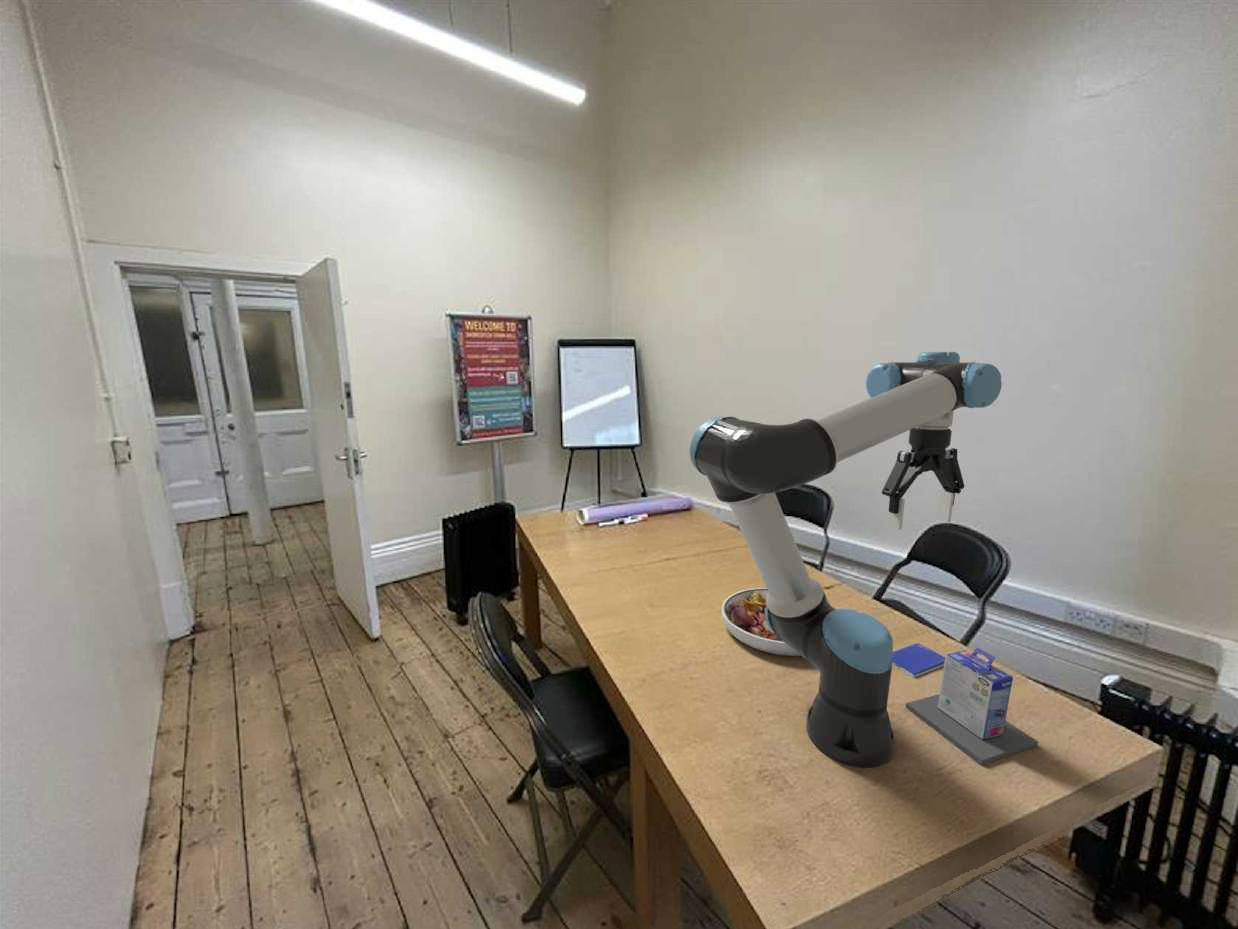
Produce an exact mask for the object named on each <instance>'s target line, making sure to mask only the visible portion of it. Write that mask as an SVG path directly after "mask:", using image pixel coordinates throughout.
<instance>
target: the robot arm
mask: <svg viewBox="0 0 1238 929" xmlns="http://www.w3.org/2000/svg"><path fill="white" fill-rule="evenodd" d="M1002 385H1003V383H1002V375H1001V372H1000V370H999V369H998V367H996V366H995V365H993V364H992V363H991V364H990V363H986V362H985V363H984V362H975V361H970V362H961V356H960V354H959V353H958V352H956V351H929V352H928V351H927V352H924V351H923V352H920V353H919V354H918V356H917V359H916V361H913V362H909V361H908V362H897V361H895V362H894V361H888V362H884V363H883V362H882V363H877V364H875V365H873V367H871V369H870V370H869V372H868V373H867V376H866V380H865V388H866V392H867V394H868V395H869V397H870V398H868V399H865V400H863V401H860V402H858V403H856V404H854V405H851V406H849V407H846V408H844V409H841V410H839V411H836V412H834V413H832V414H829V415H827V416H824V417H822V418H820V419H813V418H811V417H810V418H809V417H808V418H804V419H801V420H798V421H797V422H793V423H792V422H791V423H788V424H764V423H760V422H754V421H750V420H749V421H748V420H743V419H739V418H738V417H734V416H715V417H712V418H710V419H708V420H706V421H704V422H703V423H702V424H701V425H700V426H699V427H698V428H697V429H696V431H695V432H694V434H693V436H692V438H691V442H690V445H689V458H690V461H691V463H692V466H693V467H694V468H695V469H696V470H697V471H698V472H699V473H700V474H701V475H703V476H705V477H707V479H708V481H709V483H710V486H711V487H712V489H713V492H714V494H715V496H716V498H717V499H718V501H719V502H721V503H724V504H727V505H729V507H730V510H731V511H732V513H733V516H734V519H735V520H736V523H737V525H738V527H739V529H740V532H741V533H742V536H743V538H744V541H745V542H746V544H747V547H748V549H749V551H750V554H751V556H752V558H753V560H754V563H755V564H756V567H757V569H758V571H759V574H760V576H761V578H762V580H763V583H764V584H765V588H767V589H768V591H769V592H768V594H767V597H766V604H767V607H766V608H765V619H766V622H767V624H768V626H769V628H770V629H771V630H772V631H773V633H774V634H775V635H776V636H777V637H778V638H779V639H780V640H782V641H783V642H785V643H787V644H788V645H789V646H790V647H791V648H793V649H794V650H795V651H796V652H798V653H799V654H800V655H801V656H800V657H802V658H804V659H805V660H806V661H808V663H810V664H811V665H813V666H814V667H815V668H816V669H817V670H818V671H819V680H818V681H819V683H818V692H817V693H816V696H815V698H814V700H813V702H812V704H811V706H810V708H809V710H808V712H807V716H806V728H805V729H806V733H807V735H808V738H809V739H810V740H811V742H812V744H813V745H815V747H816V748H818V750H819V751H821V752H822V753H823V754H825V755H827V756H828V757H830V758H832V759H834V760H836V761H838V762H841V763H843V764H846V765H850V766H854V767H859V768H860V767H862V768H874V767H879V766H881V765H884V764H885V763H887V762H888V761H889V760H890V759H891V758H892V757H893V754H894V749H895V733H894V731H893V728H892V723H891V720H890V717H889V716H890V715H889V712H888V703H889V702H888V701H889V694H890V685H891V678H892V671H893V670H892V669H893V665H892V664H893V656H894V654H893V652H894V642H893V637H892V634H891V632H890V631H889V630H888V627H886V626H885V625H884V624H883V623H882V622H881V621H879V620H878V619H877V618H875V617H873V616H871V615H870V614H867V613H864V612H858V611H857V610H855V609H849V608H837V609H836V608H835V607H833V606H832V605H831V604H830V602H829V600H828V598H827V596H826V593H825V590H824V588H823V587H822V586H823V585H821V583H820V582H819V581H818V580H816V579H815V578H813V577H811V576H810V575H809V573H808V570H807V567H806V566H805V563H804V560H803V558H802V556H801V553H800V551H799V548H798V546H797V544H796V541H795V539H794V536H793V534H792V531H791V529H790V527H789V524H788V522H787V519H786V517H785V514H784V512H783V510H782V507H781V505H780V502H779V499H778V497H777V494H776V493H779V492H783V491H786V490H790V489H794V488H797V487H800V486H802V485H806V484H808V483H811V482H813V481H815V480H817V479H820V478H823V477H824V476H826V475H829V474H830V473H832V472H834V470H836V467H837V465H838V463H839V462H842V461H844V460H847V459H848V458H850V457H853V456H855V455H857V454H860V453H861V452H864V451H865V450H869V449H870V448H873V447H875V446H877V445H879V444H881V443H883V442H886V441H888V440H890V439H894V438H895V437H897V436H899V435H901V434H903V433H905V432H908V431H909V434H908V435H909V436H908V444H909V445H910V446H911V449H910V451H909V452H908V451H903V450H899V451H898V453H897V457H896V461H895V464H894V466H893V467H892V470H891V472H890V474H889V476H888V478H887V480H886V482H885V484H884V485H883V488H882V490H881V494H882V495H883V496H886V497H889V503H888V512H889V519H888V527H892V528H894V529H897V530H902V529H903V521H904V520H903V519H904V509H905V500H906V499H904V498H903V497H904V495H905V494H906V493H907V491H908V490H909V488H910V487H911V486H912V485H913V483H914V482H915V480H916V479H917V478H918V476H919V475H922V474H923V473H925V472H926V473H927V472H930V471H932V472H933V473H934V475H935V477H936V478H937V480H938V482H939V483H940V485H941V487H942V489H943V490H940V492H939V498H938V499H939V500H938V508H937V516H936V519H937V520H940V521H942V522H945V523H951V521H952V514H953V507H954V504H955V497H956V494H960V493H961V492H962V490H963V489H964V488H965V483H964V479H963V475H962V472H961V469H960V464H959V460H958V449H957V448H954V447H950V445H951V441H952V429H951V428H950V427H952V426H953V419H954V412H955V411H956V410H957V409H959V408H968V409H975V408H979V409H982V408H983V409H984V408H987V407H989V406H991V405H992V404H993V403H995V401H996V400H998V397H1000V396H999V395H1000V393H1001V391H1002Z"/></svg>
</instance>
